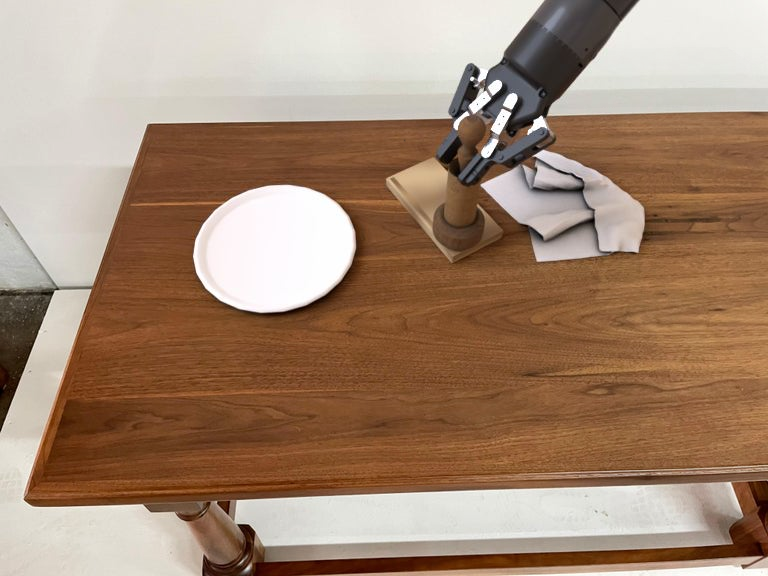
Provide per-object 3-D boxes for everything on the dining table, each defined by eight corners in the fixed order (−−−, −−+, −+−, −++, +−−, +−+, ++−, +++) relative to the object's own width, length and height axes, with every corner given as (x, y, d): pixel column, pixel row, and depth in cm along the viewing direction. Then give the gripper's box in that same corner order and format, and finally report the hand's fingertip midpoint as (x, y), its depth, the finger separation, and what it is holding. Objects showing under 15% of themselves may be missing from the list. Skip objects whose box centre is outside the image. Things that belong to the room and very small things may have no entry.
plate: (197, 330, 71) (194, 325, 70) (193, 201, 83) (191, 195, 82) (369, 301, 73) (369, 295, 72) (343, 180, 85) (342, 173, 84)
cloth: (659, 264, 77) (666, 252, 75) (487, 261, 77) (490, 249, 75) (626, 152, 88) (632, 139, 86) (476, 149, 88) (479, 137, 86)
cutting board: (501, 237, 79) (503, 230, 78) (451, 263, 77) (453, 256, 75) (433, 164, 87) (433, 156, 85) (385, 185, 84) (385, 177, 83)
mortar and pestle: (421, 228, 77) (428, 117, 63) (456, 203, 80) (471, 90, 65) (458, 259, 75) (474, 150, 60) (493, 232, 77) (518, 121, 62)
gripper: (500, -11, 61) (398, 126, 68) (597, 61, 54) (473, 206, 61) (531, 21, 67) (434, 144, 74) (621, 90, 60) (506, 219, 67)
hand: (452, 171), depth 67 cm, fingers closed on mortar and pestle, 3 cm apart
